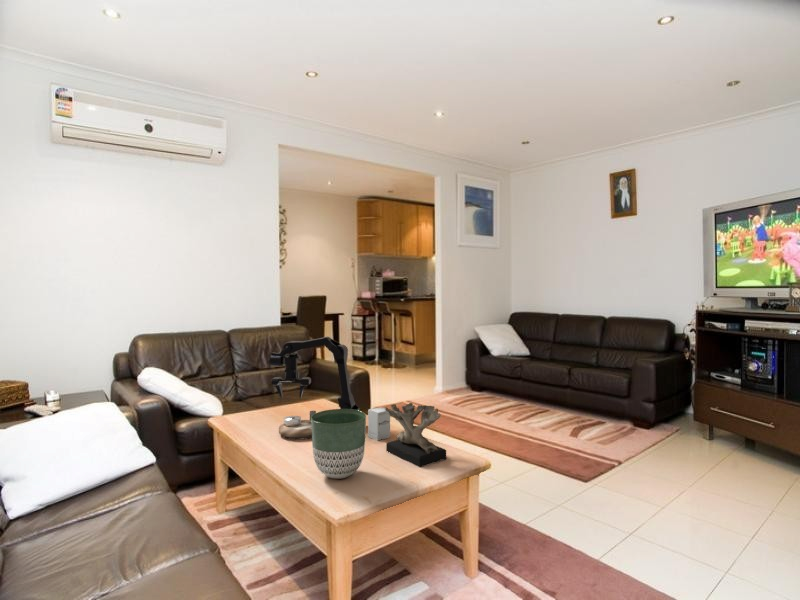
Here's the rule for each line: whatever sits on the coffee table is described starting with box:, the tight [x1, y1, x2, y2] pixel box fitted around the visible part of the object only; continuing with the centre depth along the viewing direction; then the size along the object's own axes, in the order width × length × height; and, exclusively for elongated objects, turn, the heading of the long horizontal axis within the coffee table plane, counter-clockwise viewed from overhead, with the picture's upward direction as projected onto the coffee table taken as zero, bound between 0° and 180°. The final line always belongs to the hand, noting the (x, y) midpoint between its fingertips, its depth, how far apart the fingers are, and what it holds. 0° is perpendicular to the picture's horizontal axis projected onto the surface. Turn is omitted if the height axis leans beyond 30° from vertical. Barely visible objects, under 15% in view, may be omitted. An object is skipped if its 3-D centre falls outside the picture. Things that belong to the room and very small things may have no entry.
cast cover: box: [283, 415, 302, 427], centre depth 211 cm, size 8×8×3 cm
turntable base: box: [283, 435, 312, 440], centre depth 209 cm, size 16×16×1 cm
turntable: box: [278, 410, 317, 437], centre depth 209 cm, size 20×20×7 cm
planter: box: [311, 408, 367, 480], centre depth 161 cm, size 20×20×21 cm
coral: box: [383, 402, 447, 468], centre depth 178 cm, size 25×20×21 cm
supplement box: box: [367, 406, 391, 442], centre depth 203 cm, size 7×7×13 cm
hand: (291, 398), depth 223 cm, fingers open, 9 cm apart
